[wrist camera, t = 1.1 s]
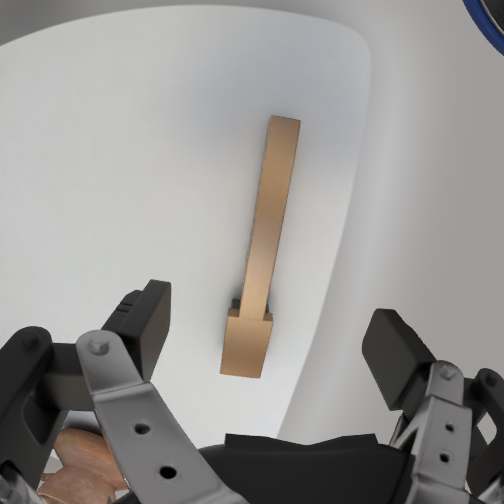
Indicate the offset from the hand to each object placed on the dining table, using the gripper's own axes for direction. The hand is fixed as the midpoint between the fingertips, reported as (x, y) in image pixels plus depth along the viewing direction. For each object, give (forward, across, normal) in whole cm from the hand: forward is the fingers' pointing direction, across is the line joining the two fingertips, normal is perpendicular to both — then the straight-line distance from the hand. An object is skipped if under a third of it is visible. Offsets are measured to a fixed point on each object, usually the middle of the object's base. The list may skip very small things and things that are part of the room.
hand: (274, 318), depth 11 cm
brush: (+12, 0, +2) cm, 12 cm away
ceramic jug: (+13, +19, +37) cm, 43 cm away
